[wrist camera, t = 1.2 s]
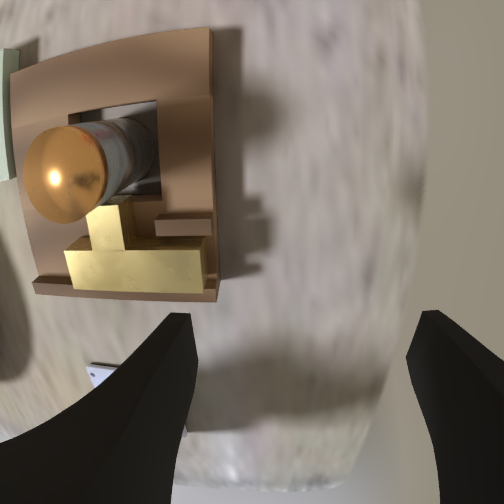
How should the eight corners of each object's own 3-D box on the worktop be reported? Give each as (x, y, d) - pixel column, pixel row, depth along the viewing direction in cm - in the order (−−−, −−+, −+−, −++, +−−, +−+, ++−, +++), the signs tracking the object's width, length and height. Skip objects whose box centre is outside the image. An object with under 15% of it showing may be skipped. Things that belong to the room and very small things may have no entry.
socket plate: (220, 280, 21) (216, 302, 18) (52, 276, 21) (35, 293, 18) (212, 33, 14) (206, 22, 12) (23, 74, 14) (0, 74, 12)
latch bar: (208, 275, 19) (203, 293, 17) (87, 273, 19) (74, 289, 17) (202, 191, 17) (196, 201, 15) (72, 198, 17) (55, 209, 15)
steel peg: (156, 181, 18) (106, 221, 12) (97, 186, 18) (32, 225, 12) (152, 114, 16) (95, 118, 10) (91, 123, 16) (18, 136, 10)
